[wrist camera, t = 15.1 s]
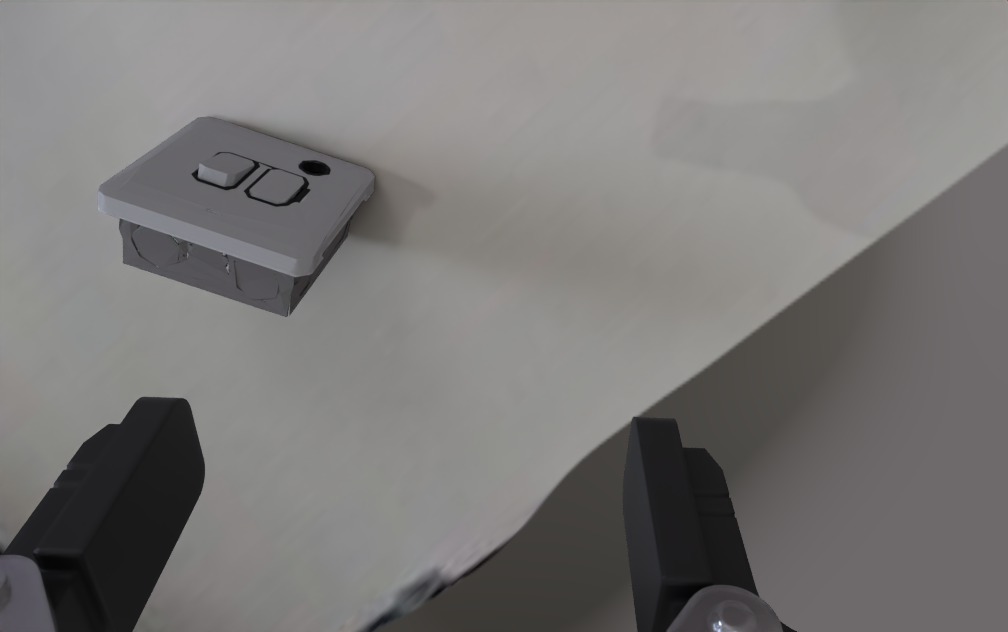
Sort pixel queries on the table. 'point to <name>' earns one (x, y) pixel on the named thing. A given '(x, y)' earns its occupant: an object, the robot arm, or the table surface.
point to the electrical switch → (235, 212)
